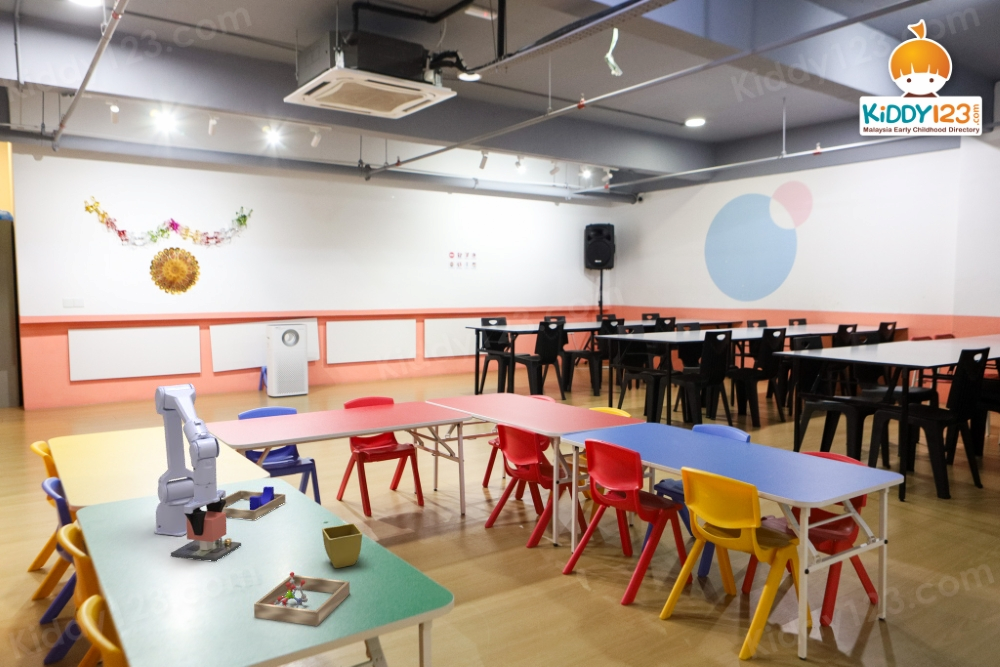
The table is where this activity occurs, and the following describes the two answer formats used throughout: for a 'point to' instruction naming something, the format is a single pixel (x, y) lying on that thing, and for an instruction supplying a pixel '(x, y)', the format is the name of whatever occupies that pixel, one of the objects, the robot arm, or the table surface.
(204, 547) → the block
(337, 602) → the wooden frame right
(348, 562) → the flower pot
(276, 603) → the molecular model
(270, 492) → the blue curved cradle block
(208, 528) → the cap
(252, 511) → the wooden frame left
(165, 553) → the table surface
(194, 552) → the panel
